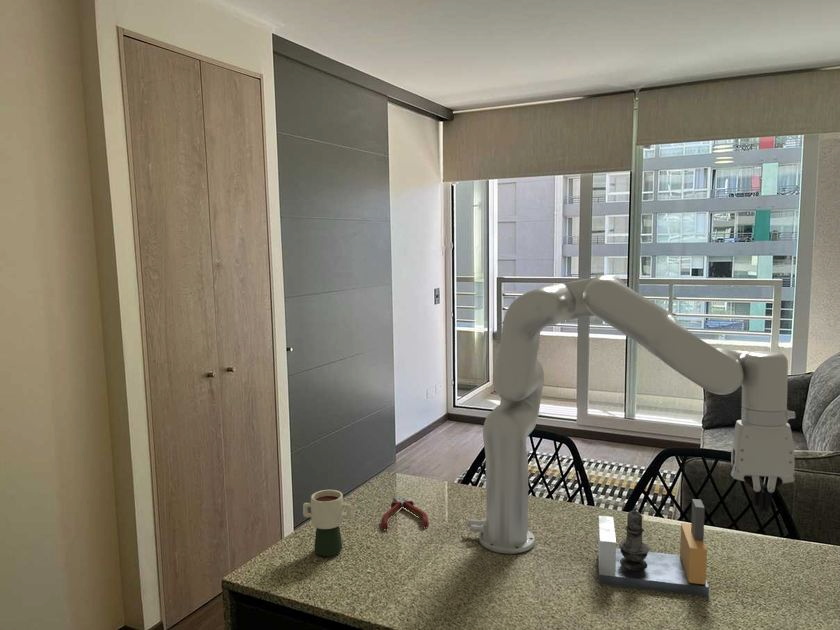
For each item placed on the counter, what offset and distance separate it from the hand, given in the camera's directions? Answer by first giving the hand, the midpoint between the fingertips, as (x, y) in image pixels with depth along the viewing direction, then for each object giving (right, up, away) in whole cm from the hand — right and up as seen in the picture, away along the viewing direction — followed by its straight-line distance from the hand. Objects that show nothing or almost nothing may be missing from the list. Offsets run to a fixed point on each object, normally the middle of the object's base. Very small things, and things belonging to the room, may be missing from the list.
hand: (761, 509), depth 118 cm
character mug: (-86, -16, +18) cm, 90 cm away
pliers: (-69, -14, +38) cm, 80 cm away
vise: (-19, -16, +7) cm, 26 cm away
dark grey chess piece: (-22, -14, +7) cm, 27 cm away
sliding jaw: (-11, -13, +5) cm, 18 cm away
